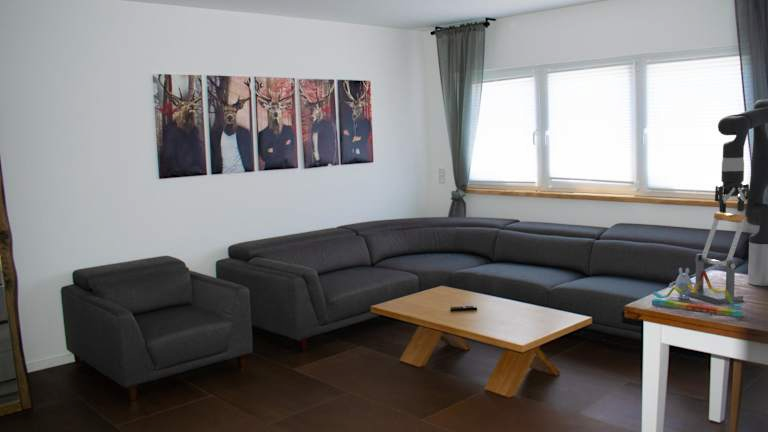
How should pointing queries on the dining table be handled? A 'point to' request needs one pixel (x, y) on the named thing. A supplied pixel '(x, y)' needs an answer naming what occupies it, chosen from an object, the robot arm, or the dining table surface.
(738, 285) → the dining table surface
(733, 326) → the dining table surface
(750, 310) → the dining table surface
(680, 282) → the toy figure
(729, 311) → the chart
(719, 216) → the lever
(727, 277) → the lever stand
